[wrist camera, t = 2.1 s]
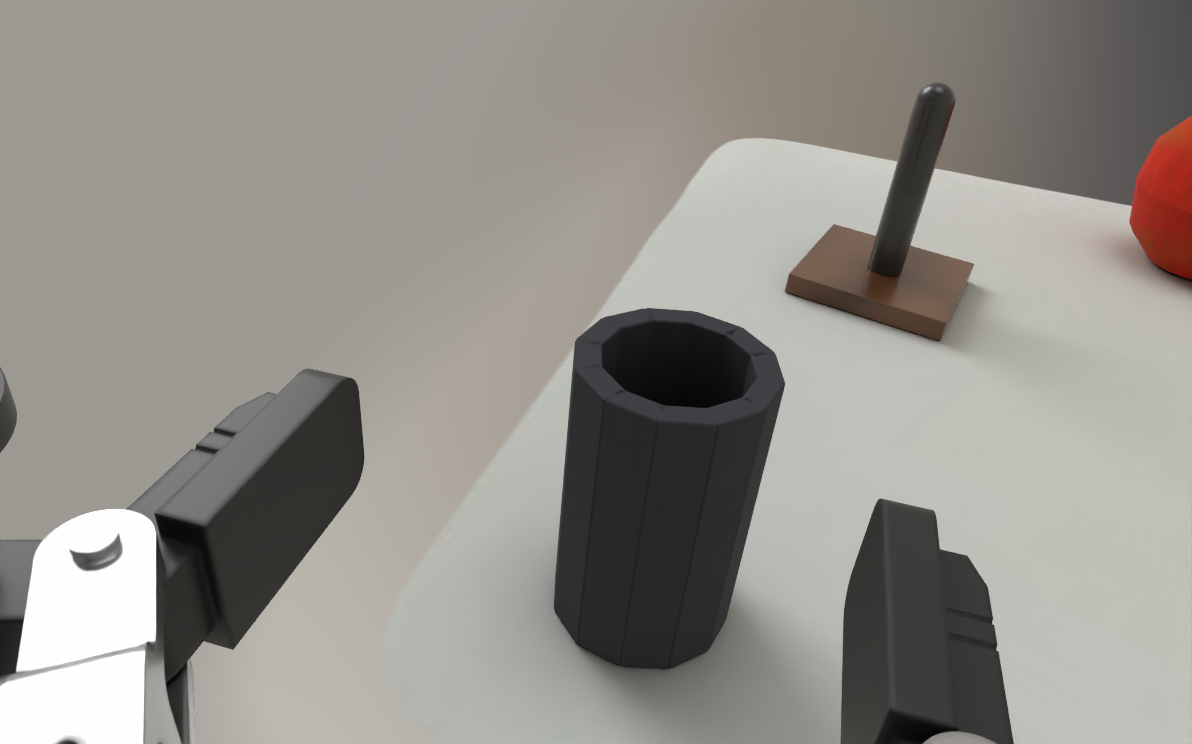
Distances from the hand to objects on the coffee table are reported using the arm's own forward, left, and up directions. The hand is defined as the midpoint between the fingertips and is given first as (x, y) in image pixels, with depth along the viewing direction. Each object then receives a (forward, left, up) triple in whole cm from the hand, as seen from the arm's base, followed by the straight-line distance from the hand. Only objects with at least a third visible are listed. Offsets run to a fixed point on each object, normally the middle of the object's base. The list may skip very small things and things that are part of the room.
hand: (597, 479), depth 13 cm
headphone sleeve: (-3, +11, -15) cm, 19 cm away
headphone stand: (-2, +41, -15) cm, 43 cm away
